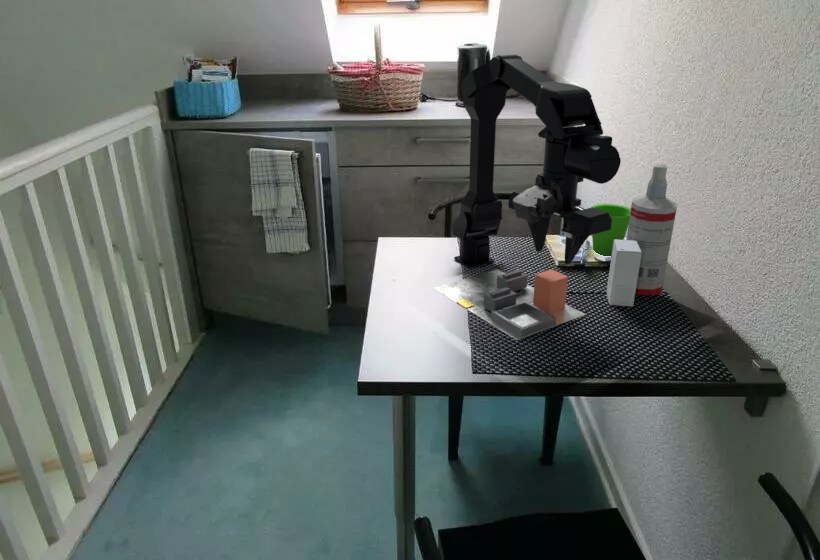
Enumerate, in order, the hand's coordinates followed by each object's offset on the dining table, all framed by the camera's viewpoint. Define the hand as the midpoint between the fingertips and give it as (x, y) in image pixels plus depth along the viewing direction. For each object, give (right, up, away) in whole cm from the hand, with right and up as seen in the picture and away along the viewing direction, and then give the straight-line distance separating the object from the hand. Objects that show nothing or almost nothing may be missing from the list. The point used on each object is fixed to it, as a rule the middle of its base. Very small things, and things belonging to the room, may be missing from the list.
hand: (553, 257), depth 104 cm
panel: (-7, -9, +7) cm, 13 cm away
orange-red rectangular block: (0, -9, +4) cm, 10 cm away
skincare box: (+14, -9, +7) cm, 18 cm away
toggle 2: (-9, -9, +3) cm, 13 cm away
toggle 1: (-5, -5, +10) cm, 13 cm away
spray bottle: (+20, -7, +11) cm, 24 cm away
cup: (+18, +1, +28) cm, 33 cm away
